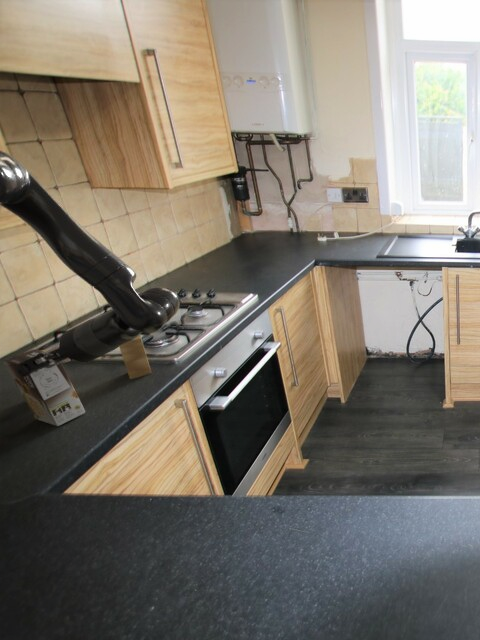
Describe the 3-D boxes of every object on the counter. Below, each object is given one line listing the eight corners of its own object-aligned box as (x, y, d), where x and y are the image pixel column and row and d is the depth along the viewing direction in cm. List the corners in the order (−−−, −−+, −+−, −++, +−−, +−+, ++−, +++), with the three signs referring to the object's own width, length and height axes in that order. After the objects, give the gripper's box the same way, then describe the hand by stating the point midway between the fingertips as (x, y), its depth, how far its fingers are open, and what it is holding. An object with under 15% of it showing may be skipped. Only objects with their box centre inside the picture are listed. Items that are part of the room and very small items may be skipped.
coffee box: (87, 412, 115) (59, 354, 108) (57, 427, 110) (25, 367, 103) (63, 405, 118) (34, 348, 111) (33, 419, 113) (0, 360, 105)
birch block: (130, 382, 130) (117, 342, 125) (129, 375, 134) (117, 336, 129) (153, 377, 133) (141, 338, 128) (151, 371, 137) (139, 332, 132)
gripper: (113, 314, 106) (62, 340, 109) (49, 333, 92) (-8, 362, 96) (133, 343, 108) (82, 368, 111) (73, 366, 94) (17, 393, 98)
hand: (41, 365), depth 103 cm, fingers open, 8 cm apart
